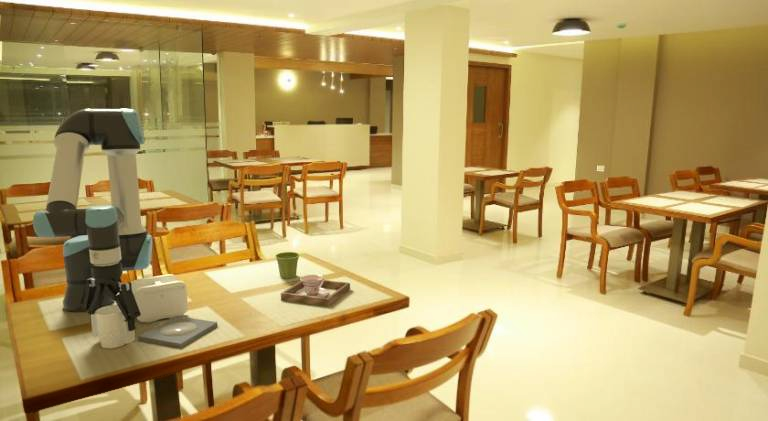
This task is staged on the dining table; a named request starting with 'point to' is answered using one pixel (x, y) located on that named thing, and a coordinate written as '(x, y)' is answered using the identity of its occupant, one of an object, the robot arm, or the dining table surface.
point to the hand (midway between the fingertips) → (114, 338)
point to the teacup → (313, 286)
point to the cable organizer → (160, 297)
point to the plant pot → (287, 264)
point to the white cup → (110, 326)
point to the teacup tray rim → (290, 296)
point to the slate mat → (178, 331)
